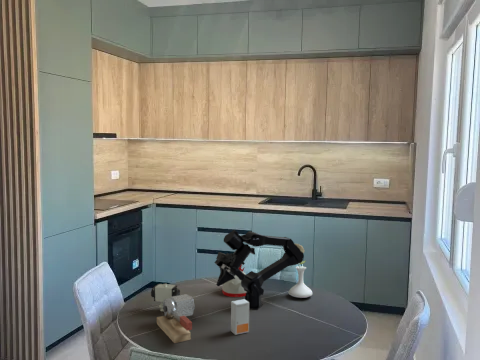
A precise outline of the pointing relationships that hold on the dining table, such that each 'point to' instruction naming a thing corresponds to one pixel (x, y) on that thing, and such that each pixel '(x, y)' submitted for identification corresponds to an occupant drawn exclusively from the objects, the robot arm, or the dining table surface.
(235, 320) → the skincare box
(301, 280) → the flower in vase
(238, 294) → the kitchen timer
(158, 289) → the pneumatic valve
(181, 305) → the cube on metal disc
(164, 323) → the oak cradle
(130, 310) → the dining table surface
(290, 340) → the dining table surface
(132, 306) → the dining table surface
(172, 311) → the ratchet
